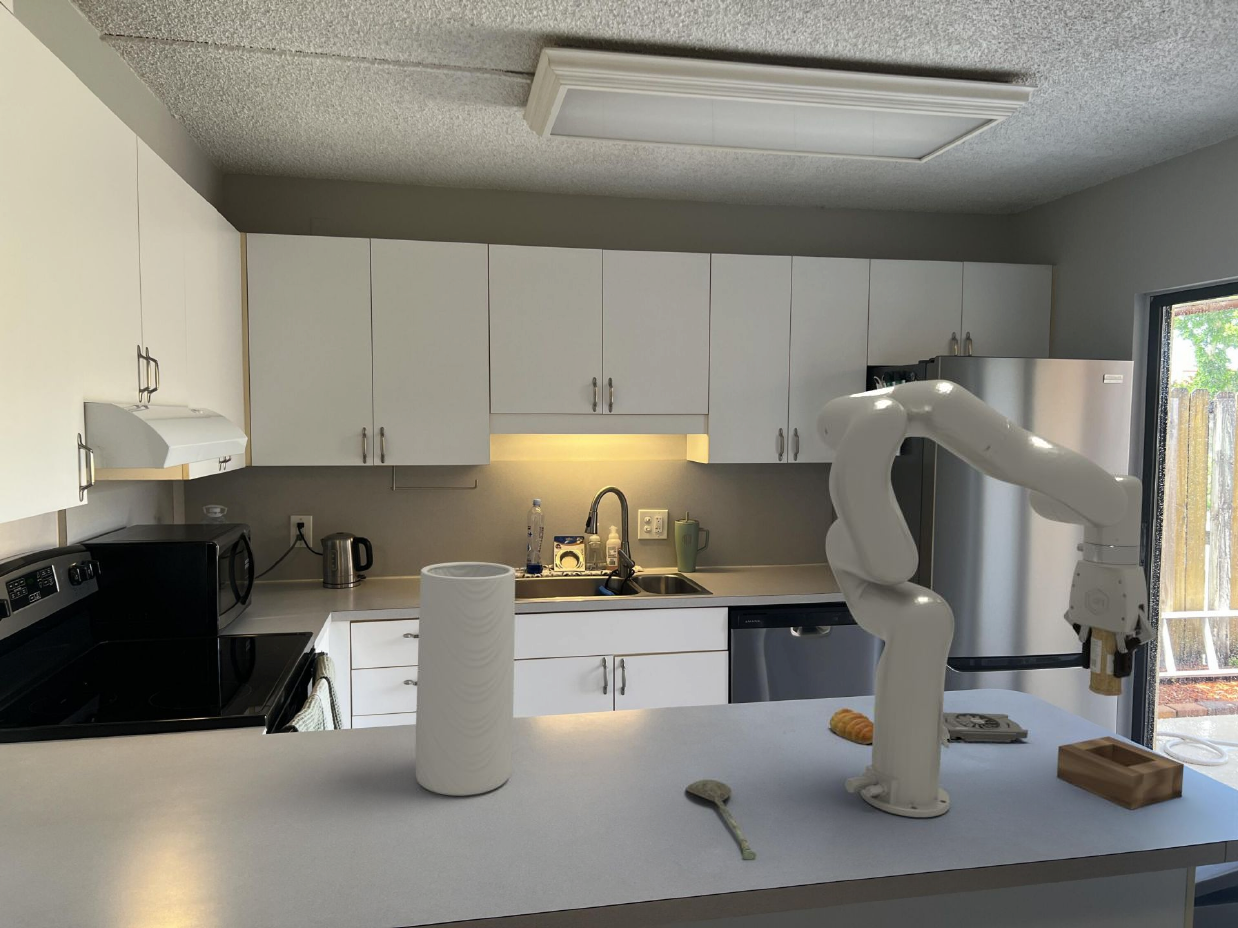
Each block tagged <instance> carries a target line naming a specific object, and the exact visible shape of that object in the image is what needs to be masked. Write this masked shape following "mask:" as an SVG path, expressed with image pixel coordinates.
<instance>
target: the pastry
mask: <svg viewBox="0 0 1238 928" xmlns="http://www.w3.org/2000/svg"><path fill="white" fill-rule="evenodd" d="M873 724H874V721H873V722H872V721H871V720H870V719H869V717H867V716H866V715H864V714H863V713H860V712H855V711H853V710H852V709H850V708H841V709H839V710H838V711H836V712H835V713H834V714H833V715H832V716H831V718H830V719H829V726H830V728H831V730H832V732H835V733H836V734H837V735H838V736H839V737H841V738H844V739H846V740H849V741H851V742H854V743H856V744H862V745H869V744H871V743H872V744H873Z"/></svg>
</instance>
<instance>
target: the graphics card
mask: <svg viewBox="0 0 1238 928" xmlns="http://www.w3.org/2000/svg"><path fill="white" fill-rule="evenodd" d="M1028 731H1029V730H1028V729H1023V728H1022V727H1021V725H1020V724H1018V723H1017V722H1015V721H1014V720H1011V719H1010V718H1009V715H1008V714H1003V713H980V712H979V713H977V712H975V713H974V712H971V713H969V712H968V713H967V712H943V721H942V741H941V744H943V746H945V747H946V748H947V749H948V748H949V749H950V743H949V742H948V740H947V739H949V741H950V742H958V743H960V744H965V742H975V741H991V742H990V743H1011V741H1015V740H1016V739H1027V738H1028V735H1029V734H1028ZM957 737H960V738H961V739H960V738H959V739H958V740H957ZM951 739H956V740H951ZM963 739H964V740H963ZM992 741H994V742H992ZM1002 741H1003V742H1002Z"/></svg>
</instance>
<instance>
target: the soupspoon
mask: <svg viewBox="0 0 1238 928" xmlns="http://www.w3.org/2000/svg"><path fill="white" fill-rule="evenodd" d="M685 791H687V792H689V793H692V794H695V795H696V796H699V797H702V798H704V799H707V800H709V801H712V802H714V803H715V804H716V805H717V806H718V807H719V809H720V810H721V811H722V813H723V814H724V816H725V817H726V820H727V821H728V822H729V824H730V825H731V827H732V829H733V831H734V832H735V834H736V836H737V838H738V840H739V841H738V842H739V844H740V845H741V849H742V856H741V859H742V860H754V859H755V858H756V857H757V854H756V852H755V850H753V849H751V847H750V845H749V844H748V841H747V839H746V838H745V837H744V835H743V833H742V831H741V829H740V828H739V825H738V824H737V823H736V821H735V819H734V817H732V814H731V813H730V811H729V809H728V808H727V807H726V805H725V803H724V802H723V801H724V800H726V799H727V798H728V797H729V796H730V795H731V793H732V792H733V791H732V787H730V786H729V785H727V784H726V783H724V782H722V781H719V780H715V779H701V780H698V781H695V782H694V781H693V782H692V783H690V784H688V786H686V787H685Z"/></svg>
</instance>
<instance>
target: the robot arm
mask: <svg viewBox="0 0 1238 928" xmlns="http://www.w3.org/2000/svg"><path fill="white" fill-rule="evenodd" d="M816 432H817V435H818V437H819V439H820V441H821V442H822V443H823V444H824V446H825V447H827V448H828V449H830V450H832V451H833V452H835V453H834V454H835V455H834V456H833V460H832V463H831V466H830V471H829V477H828V490H829V495H830V499H831V502H832V505H833V509H834V510H835V513H836V516H837V519H836V520H835V521H834V522H833V523H832V524H831V525H830V527H829V528H828V531H827V533H826V537H825V553H826V558H827V562H828V564H829V567H830V568H831V571H832V574H833V575H834V578H835V580H836V583H837V585H838V588H839V589H840V592H841V594H842V597H843V599H844V601H845V603H846V606H847V608H848V610H849V612H850V615H851V616H852V617H853V619H854V621H855V622H856V623H857V625H858V626H859V627H861V629H863V630H864V631H865V632H867V633H869V634H871V635H872V636H874V637H877V638H878V639H880V640H883V642H884V643H885V644H884V647H883V650H882V653H881V656H880V658H879V660H878V664H877V667H876V671H875V681H874V703H873V704H874V706H873V707H874V708H873V723H874V724H873V743H872V747H871V748H872V750H871V752H872V754H871V764H870V765H866V766H865V773H862V775H860V777H859V776H854V777H850V778H846V780H845V783H844V786H845V789H846V791H847V792H849V794H850V793H858V792H859V793H860V796H861V797H862V798H863V800H864V801H866V802H867V803H868V804H870V805H872V806H873V807H875V808H876V809H879V810H881V811H885V812H886V813H889V814H894V815H899V816H903V817H911V818H932V817H937V816H940V815H943V814H945V813H946V812H947V811H949V809H950V807H951V806H950V805H951V798H950V795H949V794H948V792H947V791H945V790H944V789H943V787H941V786H940V776H941V760H942V759H941V758H942V757H941V756H942V755H941V754H942V743H941V741H942V721H943V713H944V699H945V698H944V697H945V696H944V695H945V682H946V681H945V680H946V671H947V664H948V659H949V658H948V657H949V653H950V649H951V647H952V642H953V638H954V633H955V618H954V617H955V616H954V614H953V610H952V608H951V607H950V605H949V604H948V602H947V601H946V600H945V599H944V598H943V597H942V596H941V595H940V594H938V593H936V592H935V591H934V590H931V589H930V588H928V587H924V586H923V585H919V584H916V583H914V582H910V581H909V580H910V579H911V578H912V577H914V575H915V573H916V571H917V569H918V566H919V565H918V564H919V553H918V549H917V545H916V542H915V540H914V538H913V535H912V534H911V531H910V529H909V526H908V524H907V521H906V520H905V518H904V515H903V512H902V509H901V508H900V505H899V502H898V501H897V498H896V494H895V492H894V488H893V485H892V480H891V479H892V477H891V476H892V473H891V471H892V468H893V462H894V460H895V458H896V456H897V453H898V451H899V450H900V448H901V446H902V444H903V443H904V441H905V439H906V438H909V437H914V438H916V437H917V438H918V437H919V438H927V439H930V440H932V441H934V442H935V443H936V444H938V445H939V446H941V447H942V448H944V449H946V450H948V452H950V453H951V454H953V455H954V456H956V457H958V459H960V460H962V461H963V462H965V463H966V464H967V465H969V466H971V467H972V468H974V469H975V470H976V471H978V472H979V473H981V474H983V475H985V476H987V477H989V478H992V479H995V480H997V481H1000V482H1004V483H1007V484H1011V485H1015V486H1019V487H1022V488H1025V489H1029V492H1028V501H1029V504H1030V507H1031V508H1032V509H1033V511H1034V512H1035V513H1036V514H1038V516H1040V517H1042V518H1043V519H1046V520H1049V521H1053V522H1059V523H1062V524H1063V523H1065V524H1070V525H1072V524H1073V525H1077V526H1083V541H1082V542H1079V543H1077V547H1076V551H1078V552H1082V557H1081V558H1082V559H1079V560H1077V561H1076V564H1075V568H1074V571H1073V575H1072V579H1071V580H1072V581H1071V586H1070V591H1069V592H1070V593H1069V602H1068V609H1067V610H1066V611H1065V613H1064V614H1063V619H1064V620H1065V621H1066V622H1067V623H1068V624H1069V625H1070V626H1071V627H1072V629H1073V630H1074V632H1075V633H1076V635H1077V636H1078V641H1079V642H1080V643H1082V644H1081V661H1082V663H1081V664H1082V665H1081V668H1082V669H1085V670H1090V655H1091V636H1092V628H1096V629H1101V630H1105V631H1109V632H1113V633H1116V639H1117V645H1118V651H1116V652H1115V653H1114V671H1113V676H1114V677H1115V678H1122V679H1123V678H1128V677H1130V676H1131V674H1132V671H1133V660H1134V658H1133V656H1134V652H1136V651H1137V650H1138V649H1139V648H1141V646H1143V645H1145V644H1146V643H1148V642H1151V641H1153V640H1155V639H1157V633H1156V631H1155V630H1154V628H1153V626H1152V624H1151V622H1150V621H1149V619H1148V614H1149V613H1148V609H1149V607H1148V605H1149V604H1148V590H1147V581H1146V576H1145V571H1144V567H1143V566H1140V554H1141V553H1140V552H1141V551H1140V550H1141V529H1142V527H1141V526H1142V510H1143V509H1142V506H1143V505H1142V504H1143V484H1142V481H1141V479H1139V478H1138V477H1137V476H1134V475H1128V474H1110V472H1108V471H1107V470H1106V469H1103V468H1102V467H1101V466H1100V465H1098V464H1097V463H1095V462H1094V461H1092V460H1091V459H1090V458H1087V457H1086V456H1084V455H1082V454H1080V453H1078V452H1076V451H1074V450H1072V449H1071V448H1068V447H1065V446H1064V445H1061V444H1059V443H1056V442H1054V441H1053V440H1050V439H1047V438H1045V437H1043V436H1041V435H1039V434H1037V433H1035V432H1032V431H1030V430H1027V429H1025V428H1022V427H1021V426H1019V425H1018V424H1016V423H1014V422H1013V421H1012V420H1010V419H1009V418H1008V417H1006V416H1004V415H1003V414H1002V413H1000V412H999V411H997V410H996V409H995V408H993V407H992V406H990V405H989V404H988V403H986V402H985V401H983V400H982V399H980V398H979V397H978V396H976V395H975V394H974V393H972V392H971V391H969V390H967V389H966V388H964V387H963V386H961V385H960V384H958V383H955V382H953V381H951V380H946V379H932V380H931V379H930V380H928V379H927V380H918V381H917V380H915V381H910V382H909V381H908V382H905V383H899V384H896V385H891V386H887V387H881V388H878V389H873V390H869V391H868V390H867V391H864V392H863V391H862V392H859V393H853V394H848V395H844V396H840V397H836V398H833V399H831V400H830V401H828V402H827V403H826V404H825V405H824V406H823V407H822V408H821V410H820V411H819V413H818V415H817V418H816ZM1135 632H1140V633H1139V634H1137V635H1136V633H1135Z"/></svg>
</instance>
